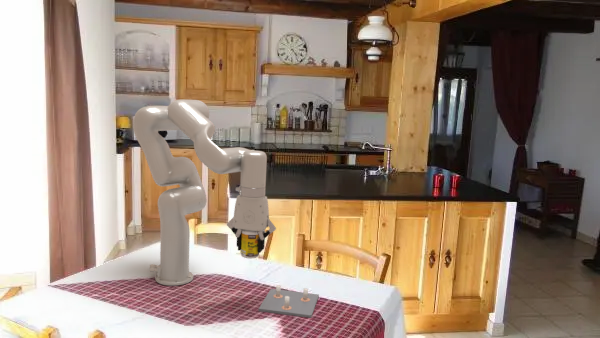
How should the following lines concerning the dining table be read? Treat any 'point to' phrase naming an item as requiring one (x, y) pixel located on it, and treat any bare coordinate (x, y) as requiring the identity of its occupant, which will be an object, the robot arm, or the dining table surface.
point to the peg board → (289, 302)
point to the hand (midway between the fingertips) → (250, 249)
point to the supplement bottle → (249, 244)
